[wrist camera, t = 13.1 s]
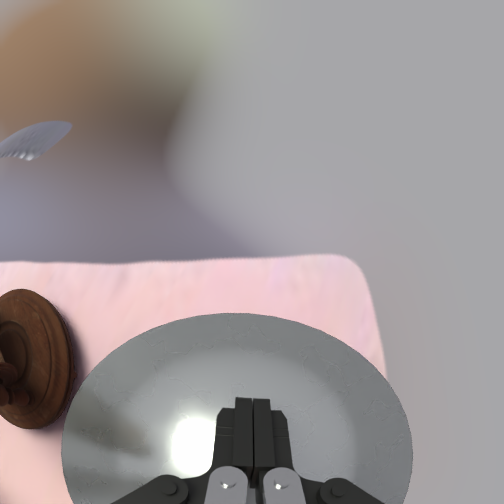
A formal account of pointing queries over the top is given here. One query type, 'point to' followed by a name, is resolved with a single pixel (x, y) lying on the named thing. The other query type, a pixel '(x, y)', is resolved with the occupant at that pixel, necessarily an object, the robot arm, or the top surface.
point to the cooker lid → (223, 395)
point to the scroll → (33, 360)
